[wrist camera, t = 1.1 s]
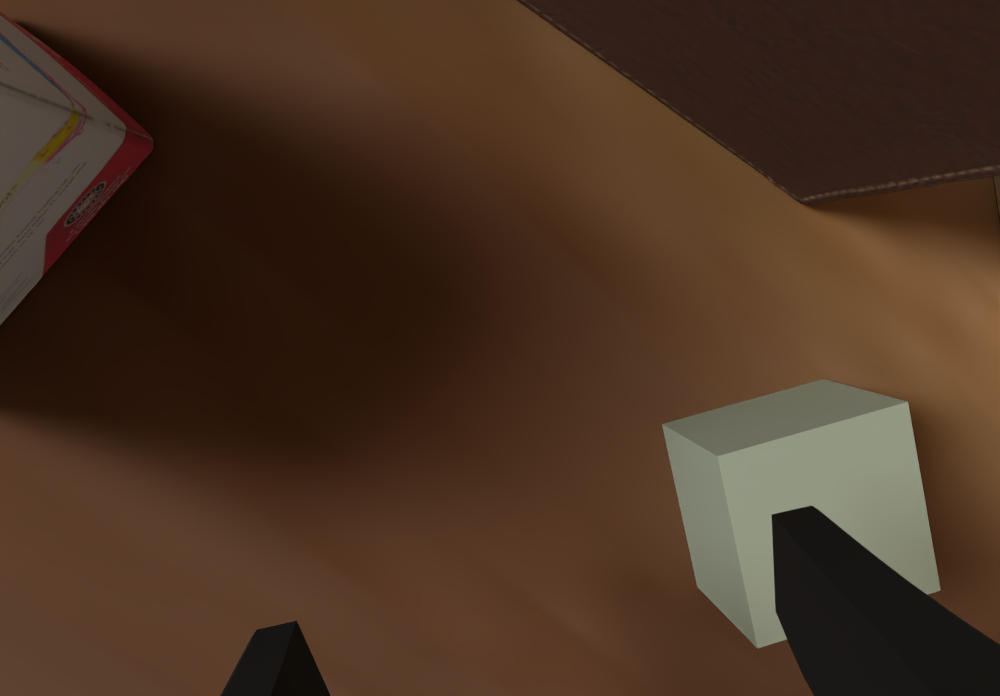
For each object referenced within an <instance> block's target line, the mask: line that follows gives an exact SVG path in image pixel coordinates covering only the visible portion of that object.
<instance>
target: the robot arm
mask: <svg viewBox="0 0 1000 696" xmlns="http://www.w3.org/2000/svg"><path fill="white" fill-rule="evenodd" d="M771 515H772V539H773V563H774V587H775V610H776V614H777V616H778V618H779V621H780V623H781V626H782V628H783V630H784V633H785V635H786V638H787V640H788V642H789V645H790V647H791V649H792V652H793V654H794V656H795V658H796V661H797V663H798V665H799V667H800V670H801V672H802V674H803V676H804V678H805V680H806V682H807V683H808V685H809V687H810V689H811V691H812V692H813V694H814V696H1000V645H999V644H998V643H996V642H995V641H993V640H992V639H990V638H989V637H987V636H986V635H984V634H983V633H981V632H980V631H978V630H977V629H975V628H973V627H972V626H970V625H969V624H968V623H966V622H965V621H963V620H962V619H960V618H959V617H958V616H956V615H955V614H953V613H952V612H950V611H949V610H947V609H946V608H945V607H943V606H942V605H941V604H939V603H938V602H936V601H935V600H934V599H932V598H931V597H930V596H928V595H927V594H926V593H924V592H923V591H921V590H920V589H919V588H917V587H916V586H915V585H913V584H912V583H910V582H909V581H908V580H906V579H905V578H904V577H902V576H901V575H900V574H898V573H897V572H896V571H895V570H893V569H892V568H891V567H889V566H888V565H887V564H885V563H884V562H883V561H882V560H880V559H879V558H878V557H877V556H875V555H874V554H873V553H871V552H870V551H869V550H868V549H866V548H865V547H864V546H863V545H861V544H860V543H859V542H858V541H856V540H855V539H854V538H853V537H851V536H850V535H849V534H848V533H846V532H845V531H844V530H843V529H842V528H840V527H839V526H838V525H837V524H835V523H834V522H833V521H832V520H831V519H829V518H828V517H827V516H826V515H824V514H823V513H822V512H821V511H820V510H818V509H817V508H815V507H813V506H807V507H803V508H798V509H794V510H789V511H785V512H780V513H776V514H771ZM221 696H330V694H329V692H328V689H327V687H326V685H325V683H324V681H323V678H322V676H321V674H320V672H319V669H318V667H317V665H316V663H315V661H314V658H313V656H312V654H311V652H310V649H309V647H308V645H307V643H306V641H305V638H304V636H303V634H302V632H301V629H300V627H299V625H298V623H297V621H294V622H290V623H285V624H281V625H276V626H272V627H267V628H263V629H258V630H256V632H255V633H254V635H253V636H252V638H251V639H250V641H249V643H248V645H247V647H246V649H245V651H244V653H243V654H242V656H241V658H240V660H239V662H238V664H237V666H236V668H235V670H234V671H233V673H232V675H231V677H230V679H229V681H228V683H227V685H226V686H225V688H224V690H223V692H222V694H221Z"/></svg>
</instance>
